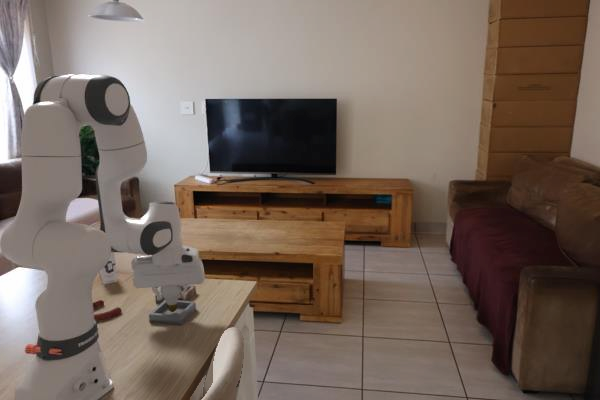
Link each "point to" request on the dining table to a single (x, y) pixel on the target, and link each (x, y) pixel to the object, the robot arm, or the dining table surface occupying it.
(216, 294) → the dining table surface
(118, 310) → the pliers
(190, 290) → the frame
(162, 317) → the tray
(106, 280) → the ink box
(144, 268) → the robot arm
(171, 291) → the light bulb
